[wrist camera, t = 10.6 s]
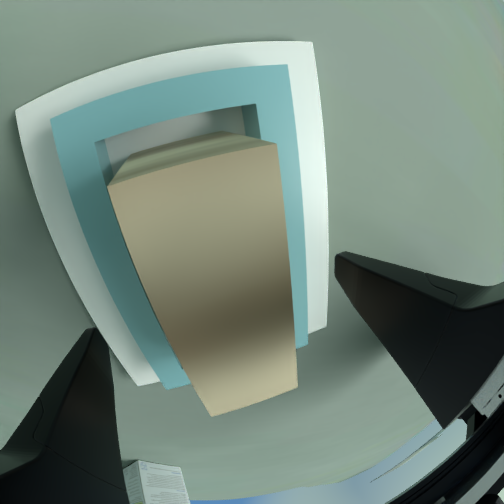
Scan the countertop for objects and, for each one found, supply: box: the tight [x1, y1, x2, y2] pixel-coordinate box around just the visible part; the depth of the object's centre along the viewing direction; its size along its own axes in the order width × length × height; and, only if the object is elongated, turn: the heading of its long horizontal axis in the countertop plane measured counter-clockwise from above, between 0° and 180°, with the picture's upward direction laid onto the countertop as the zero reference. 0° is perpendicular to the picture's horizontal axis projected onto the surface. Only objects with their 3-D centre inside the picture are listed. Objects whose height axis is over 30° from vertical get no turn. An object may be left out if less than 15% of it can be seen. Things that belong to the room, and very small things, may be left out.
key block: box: [107, 131, 298, 417], centre depth 11 cm, size 10×4×6 cm, turn 9°
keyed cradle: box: [15, 41, 329, 390], centre depth 13 cm, size 14×18×3 cm
